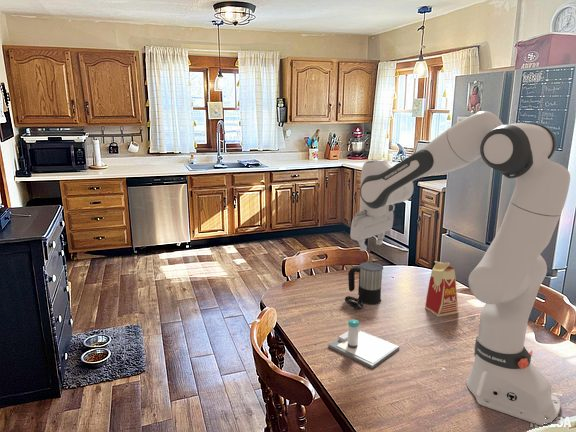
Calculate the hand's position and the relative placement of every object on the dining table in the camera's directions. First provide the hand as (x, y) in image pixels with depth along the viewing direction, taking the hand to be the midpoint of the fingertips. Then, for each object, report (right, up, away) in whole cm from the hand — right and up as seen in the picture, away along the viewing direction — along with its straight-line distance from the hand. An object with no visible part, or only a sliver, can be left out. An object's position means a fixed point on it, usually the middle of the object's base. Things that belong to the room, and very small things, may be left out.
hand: (371, 247), depth 148 cm
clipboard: (-4, -32, -8) cm, 33 cm away
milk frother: (+1, -24, +24) cm, 34 cm away
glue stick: (-8, -31, -9) cm, 33 cm away
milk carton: (+30, -26, +18) cm, 43 cm away
